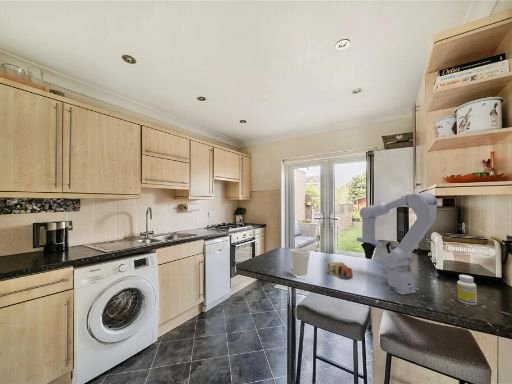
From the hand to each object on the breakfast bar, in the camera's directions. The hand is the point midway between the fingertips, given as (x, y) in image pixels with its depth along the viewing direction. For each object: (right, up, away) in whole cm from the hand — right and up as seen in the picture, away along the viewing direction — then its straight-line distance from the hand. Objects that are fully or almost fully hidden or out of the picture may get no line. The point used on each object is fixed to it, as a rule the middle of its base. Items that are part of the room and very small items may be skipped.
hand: (368, 258), depth 110 cm
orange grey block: (-14, -7, -2) cm, 16 cm away
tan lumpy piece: (-15, -8, -1) cm, 17 cm away
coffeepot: (+20, -11, +7) cm, 23 cm away
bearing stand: (-15, -10, -1) cm, 18 cm away
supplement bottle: (+25, -10, -25) cm, 37 cm away
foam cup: (-34, -10, +2) cm, 36 cm away
